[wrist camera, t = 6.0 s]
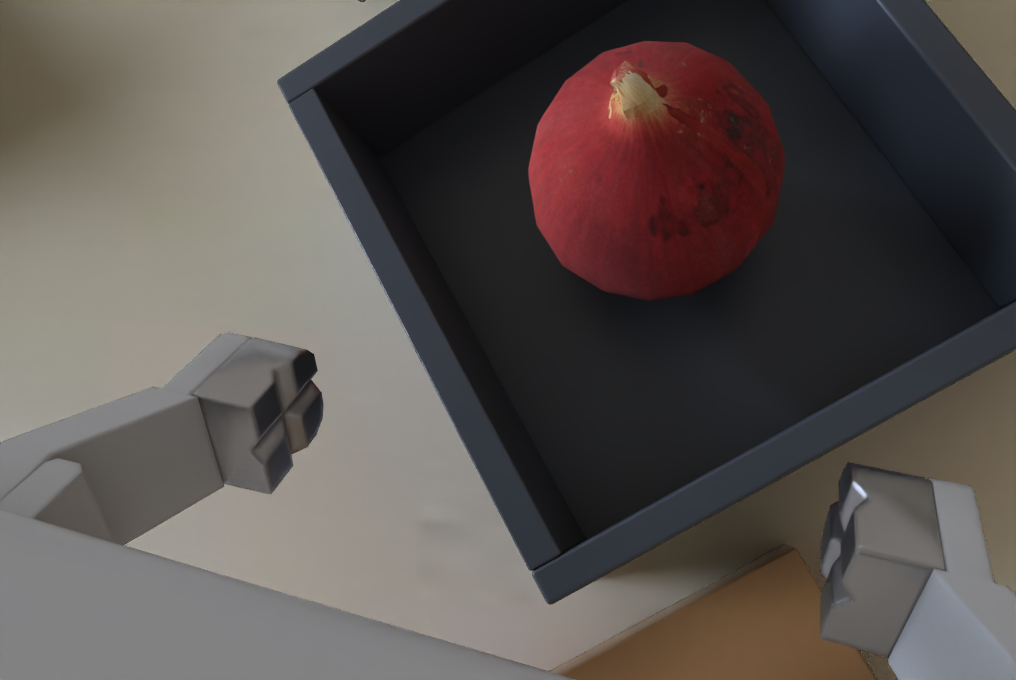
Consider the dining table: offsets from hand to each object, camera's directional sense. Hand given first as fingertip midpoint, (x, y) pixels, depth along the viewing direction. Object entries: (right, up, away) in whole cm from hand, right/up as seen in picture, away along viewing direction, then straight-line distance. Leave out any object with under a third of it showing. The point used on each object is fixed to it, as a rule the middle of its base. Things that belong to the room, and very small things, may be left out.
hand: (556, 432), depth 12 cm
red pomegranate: (+4, +5, +10) cm, 12 cm away
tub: (+4, +4, +11) cm, 12 cm away
